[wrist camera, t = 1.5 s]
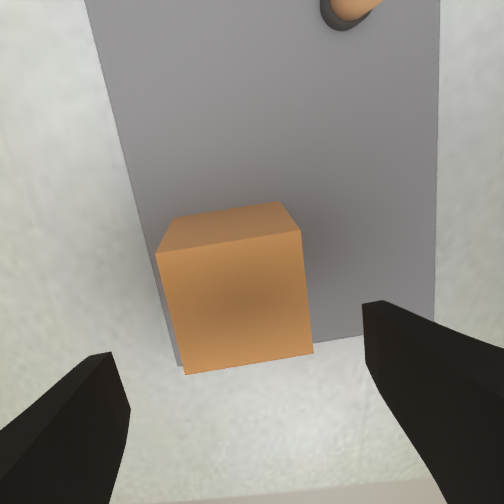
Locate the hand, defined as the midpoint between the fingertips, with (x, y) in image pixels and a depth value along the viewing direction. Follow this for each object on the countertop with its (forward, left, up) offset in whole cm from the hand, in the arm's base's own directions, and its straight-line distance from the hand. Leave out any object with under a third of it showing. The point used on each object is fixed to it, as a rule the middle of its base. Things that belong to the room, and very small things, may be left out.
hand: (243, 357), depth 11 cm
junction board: (-3, -5, -10) cm, 11 cm away
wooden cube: (0, 0, -8) cm, 8 cm away
